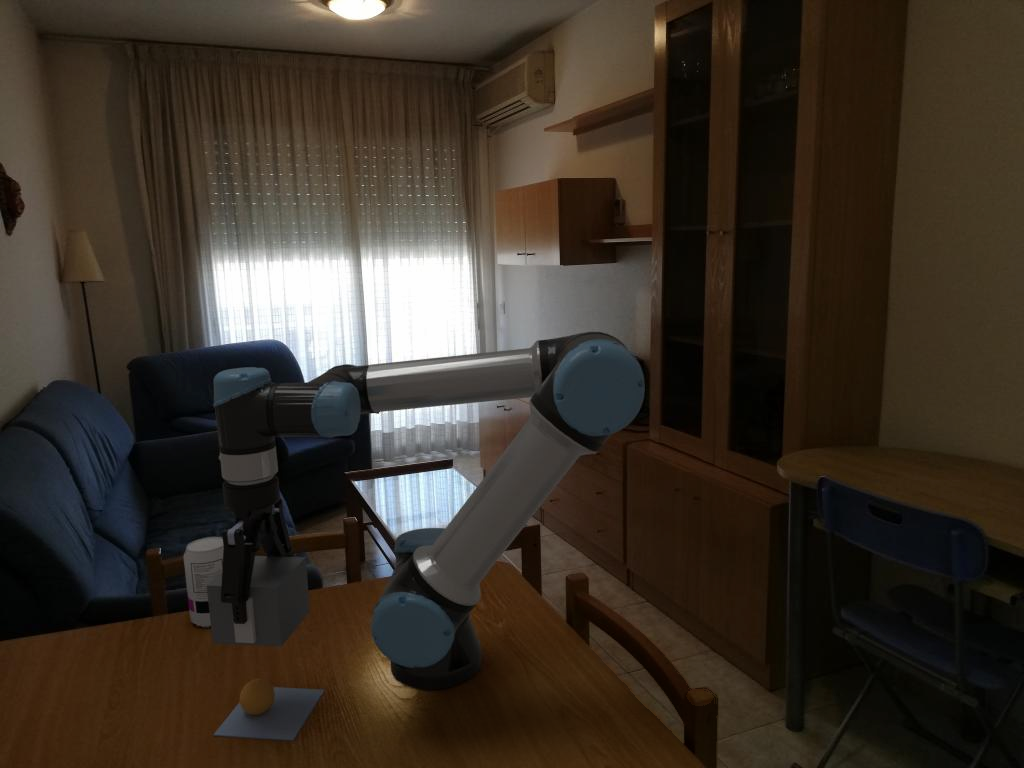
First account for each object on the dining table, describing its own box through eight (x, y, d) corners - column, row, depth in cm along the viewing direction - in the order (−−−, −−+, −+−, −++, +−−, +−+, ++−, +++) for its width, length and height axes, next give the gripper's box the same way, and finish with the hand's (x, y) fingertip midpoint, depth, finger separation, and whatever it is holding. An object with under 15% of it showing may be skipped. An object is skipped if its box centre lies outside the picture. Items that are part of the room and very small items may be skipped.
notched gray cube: (309, 611, 112) (305, 557, 111) (281, 646, 102) (276, 587, 101) (246, 608, 114) (241, 555, 112) (212, 643, 104) (206, 585, 102)
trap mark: (324, 690, 116) (324, 689, 116) (293, 740, 104) (293, 739, 104) (252, 687, 117) (252, 686, 117) (213, 736, 105) (213, 734, 105)
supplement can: (181, 624, 138) (172, 548, 135) (215, 604, 145) (208, 533, 142) (212, 632, 134) (204, 555, 132) (246, 612, 142) (239, 539, 139)
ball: (261, 666, 112) (243, 687, 113) (246, 685, 107) (227, 706, 108) (286, 687, 112) (267, 707, 113) (272, 707, 107) (252, 728, 108)
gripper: (261, 454, 115) (273, 586, 119) (180, 504, 93) (198, 663, 97) (307, 455, 115) (317, 587, 119) (236, 505, 92) (251, 666, 96)
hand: (263, 621), depth 108 cm, fingers closed on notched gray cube, 10 cm apart
